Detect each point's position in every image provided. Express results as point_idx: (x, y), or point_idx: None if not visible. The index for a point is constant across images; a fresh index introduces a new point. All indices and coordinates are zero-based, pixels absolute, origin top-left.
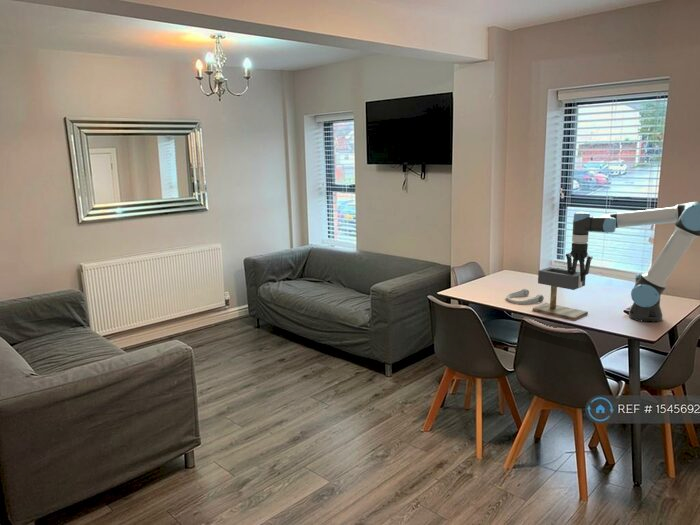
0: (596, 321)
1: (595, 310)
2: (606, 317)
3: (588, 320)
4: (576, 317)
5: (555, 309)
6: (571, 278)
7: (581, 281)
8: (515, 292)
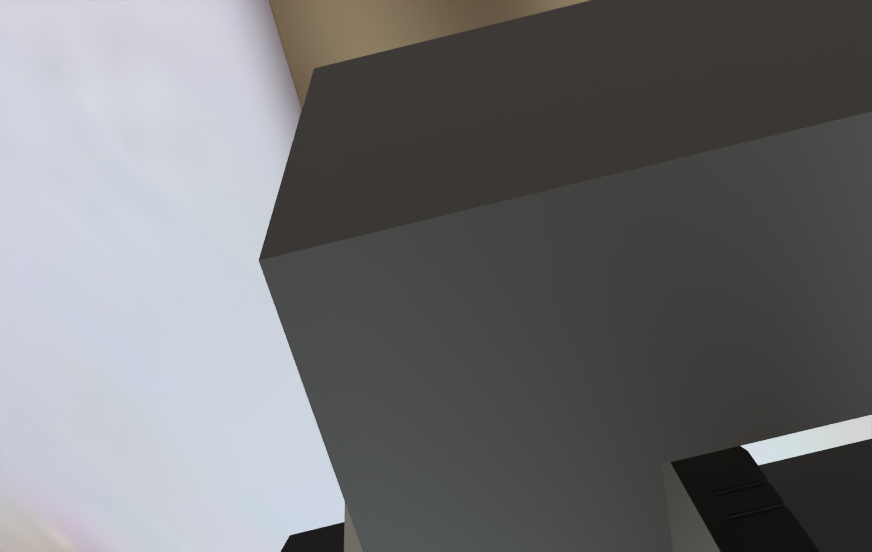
0: (94, 198)
1: None
2: (175, 418)
3: (177, 142)
4: (274, 18)
5: None
6: (458, 159)
7: (317, 533)
8: None
